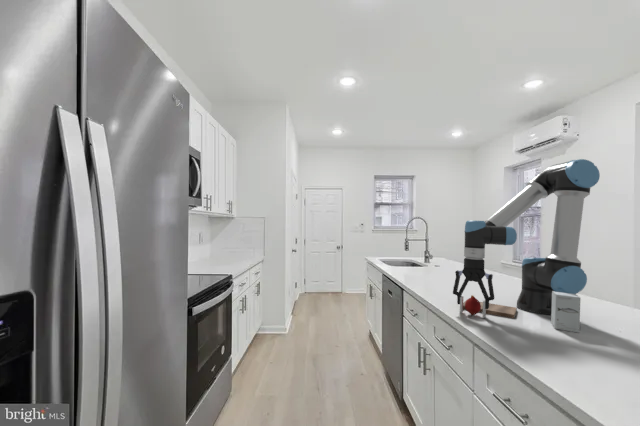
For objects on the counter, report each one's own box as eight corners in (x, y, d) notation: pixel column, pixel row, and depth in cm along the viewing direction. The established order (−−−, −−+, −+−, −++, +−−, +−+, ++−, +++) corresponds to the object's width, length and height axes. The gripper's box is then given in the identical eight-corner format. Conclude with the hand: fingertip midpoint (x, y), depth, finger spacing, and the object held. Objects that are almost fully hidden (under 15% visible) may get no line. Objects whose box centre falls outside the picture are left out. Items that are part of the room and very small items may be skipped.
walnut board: (516, 311, 138) (516, 307, 138) (514, 318, 127) (514, 314, 127) (466, 302, 150) (466, 299, 150) (460, 308, 138) (460, 305, 138)
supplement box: (554, 329, 115) (555, 294, 116) (550, 323, 122) (551, 290, 122) (580, 333, 112) (580, 297, 112) (575, 327, 118) (575, 293, 119)
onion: (477, 313, 132) (477, 294, 132) (482, 317, 126) (483, 297, 126) (462, 312, 132) (463, 293, 133) (467, 316, 127) (468, 296, 127)
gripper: (445, 256, 133) (443, 311, 132) (502, 261, 121) (500, 322, 120) (449, 255, 139) (448, 307, 138) (504, 260, 127) (502, 317, 126)
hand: (472, 314), depth 129 cm, fingers open, 8 cm apart
